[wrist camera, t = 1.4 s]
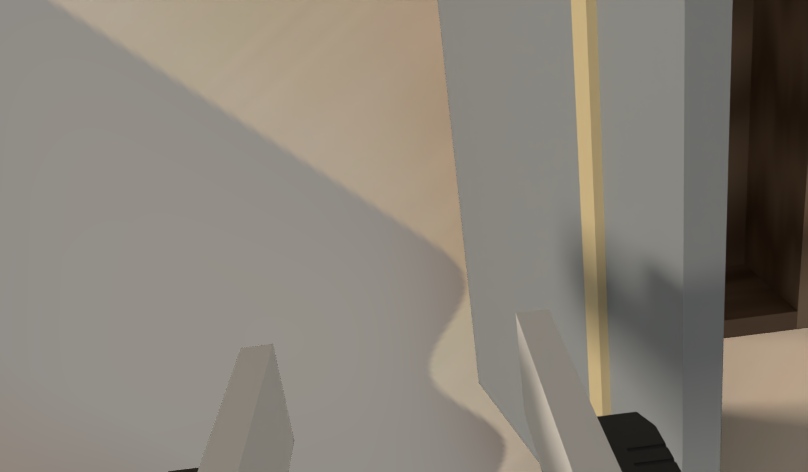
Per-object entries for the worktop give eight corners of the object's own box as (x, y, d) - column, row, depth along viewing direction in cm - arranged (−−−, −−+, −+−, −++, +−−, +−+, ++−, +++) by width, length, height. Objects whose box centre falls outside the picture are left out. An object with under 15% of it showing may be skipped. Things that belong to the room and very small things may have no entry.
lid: (453, -120, 30) (417, -115, 30) (738, -212, 15) (672, -205, 15) (501, 376, 38) (473, 384, 38) (715, 637, 23) (672, 653, 23)
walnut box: (441, -97, 37) (454, -106, 30) (770, -143, 37) (854, -162, 30) (482, 304, 45) (499, 366, 38) (753, 270, 45) (816, 326, 38)
